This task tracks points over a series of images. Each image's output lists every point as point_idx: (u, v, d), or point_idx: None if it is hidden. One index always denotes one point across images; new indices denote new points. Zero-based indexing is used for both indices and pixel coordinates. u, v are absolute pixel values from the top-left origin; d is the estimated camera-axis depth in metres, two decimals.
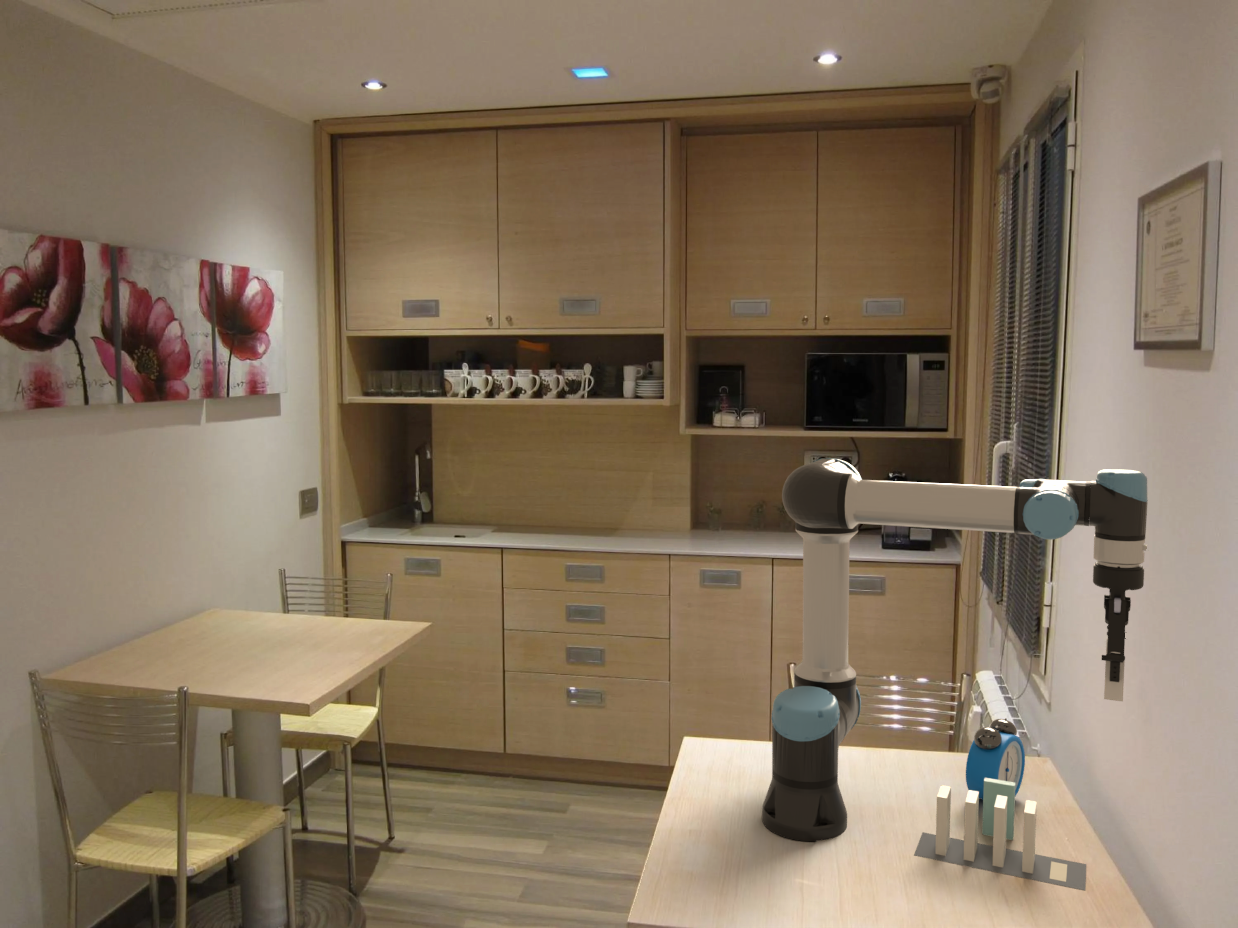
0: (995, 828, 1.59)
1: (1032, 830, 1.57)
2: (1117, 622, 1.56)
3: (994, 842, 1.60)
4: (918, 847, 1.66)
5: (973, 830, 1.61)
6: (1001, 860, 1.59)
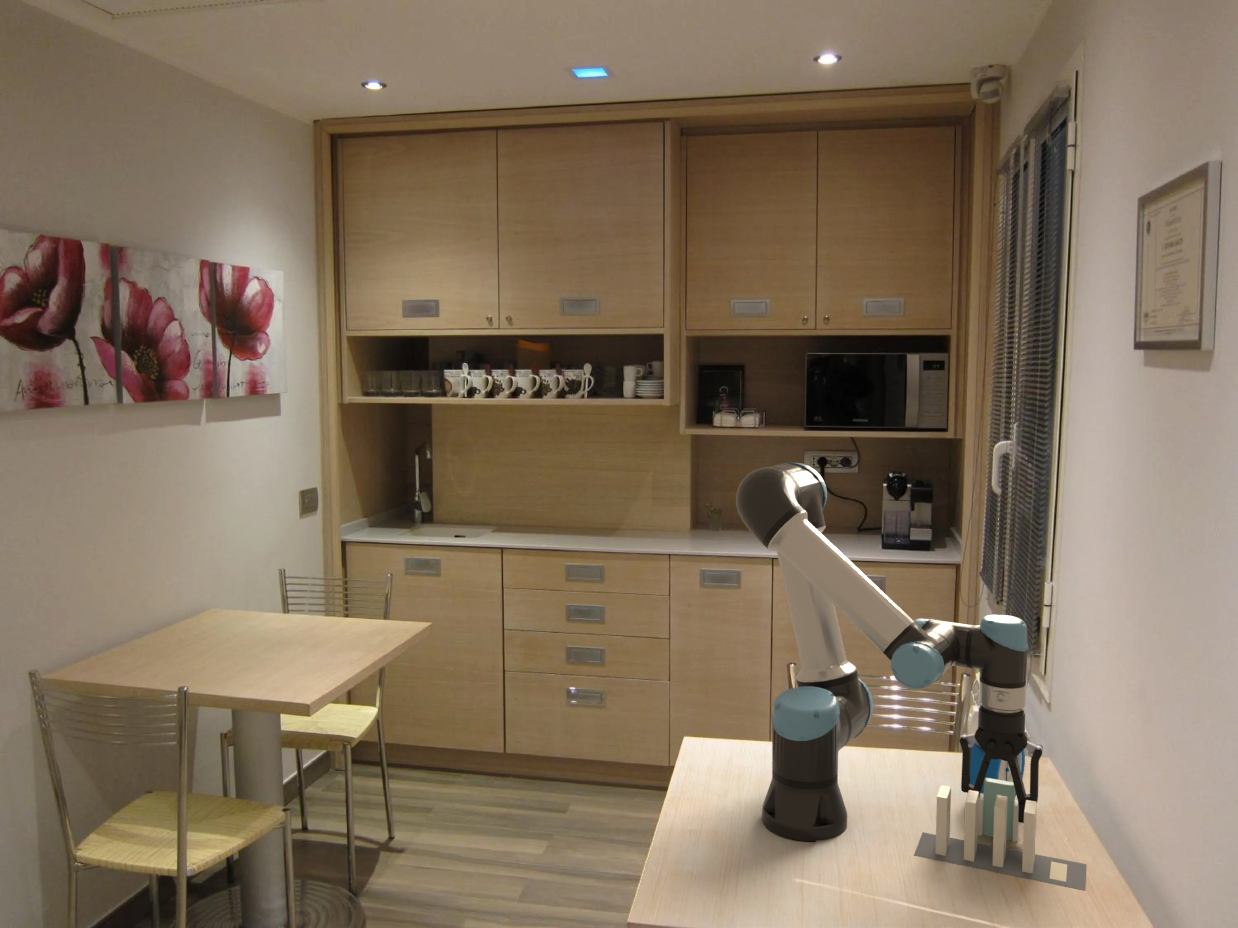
0: (995, 828, 1.59)
1: (1032, 830, 1.57)
2: None
3: (994, 842, 1.60)
4: (918, 847, 1.66)
5: (973, 830, 1.61)
6: (1001, 860, 1.59)
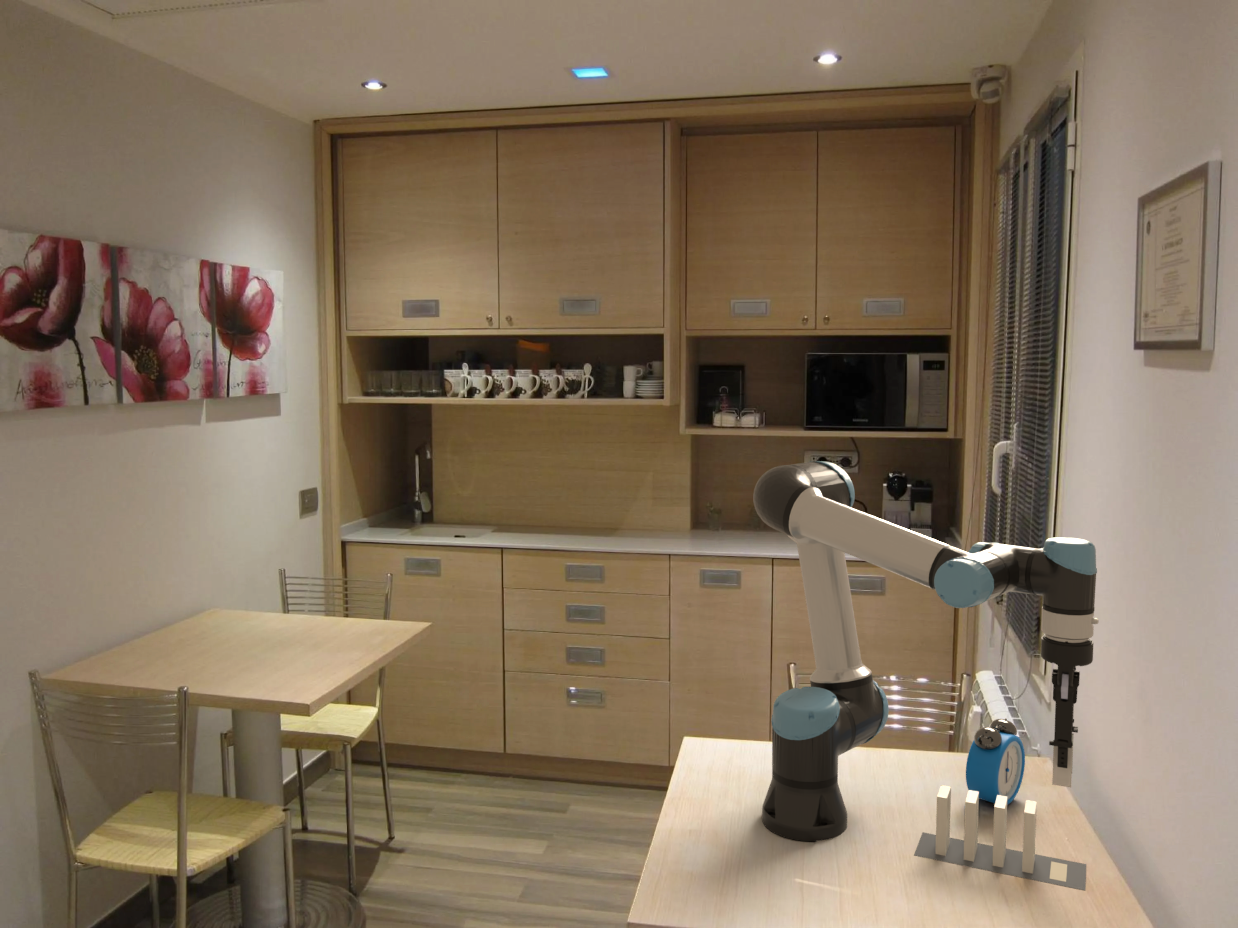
0: (995, 828, 1.59)
1: (1032, 830, 1.57)
2: (1064, 709, 1.50)
3: (994, 842, 1.60)
4: (918, 847, 1.66)
5: (973, 830, 1.61)
6: (1001, 860, 1.59)
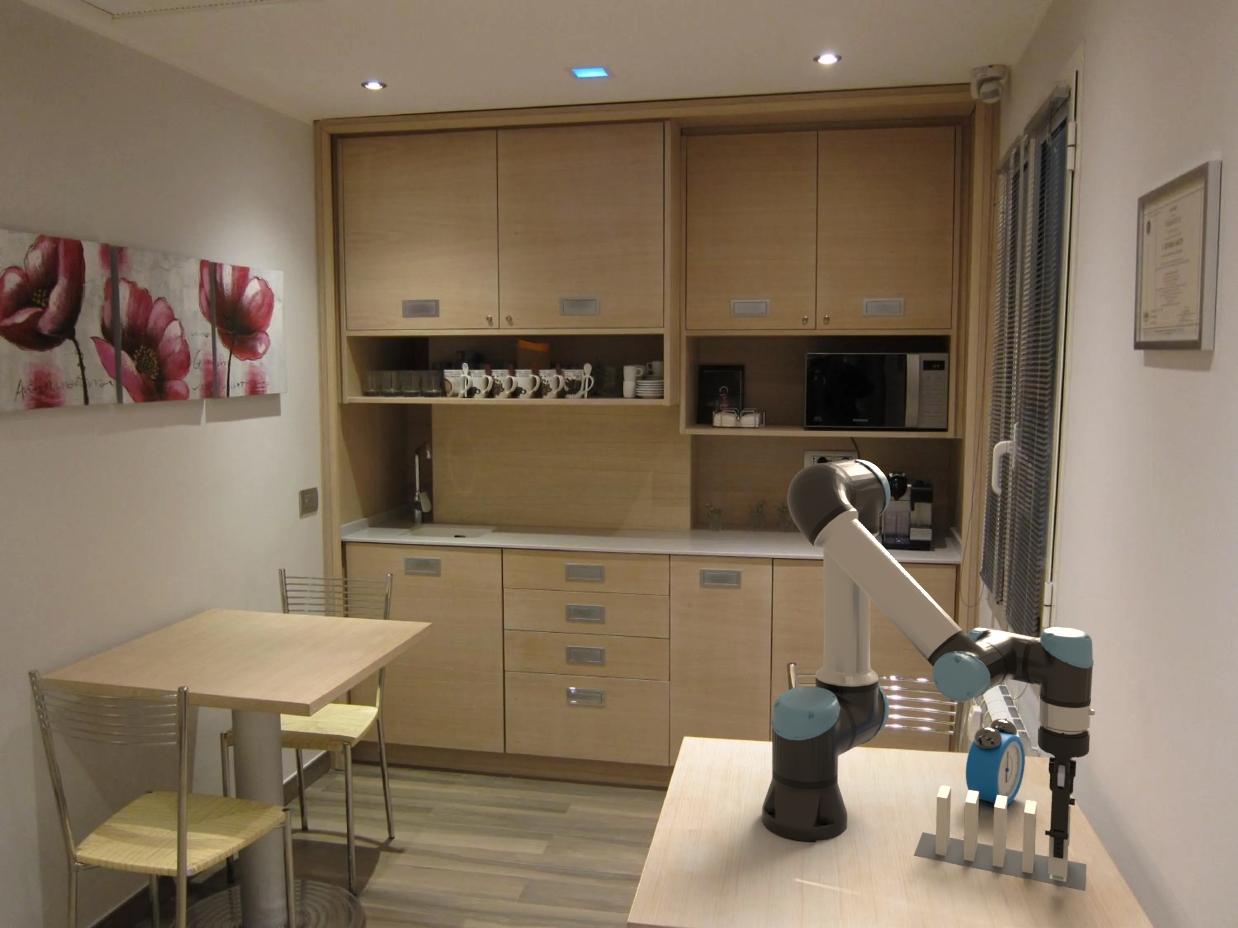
0: (995, 828, 1.59)
1: (1032, 830, 1.57)
2: (1060, 797, 1.50)
3: (994, 842, 1.60)
4: (918, 847, 1.66)
5: (973, 830, 1.61)
6: (1001, 860, 1.59)
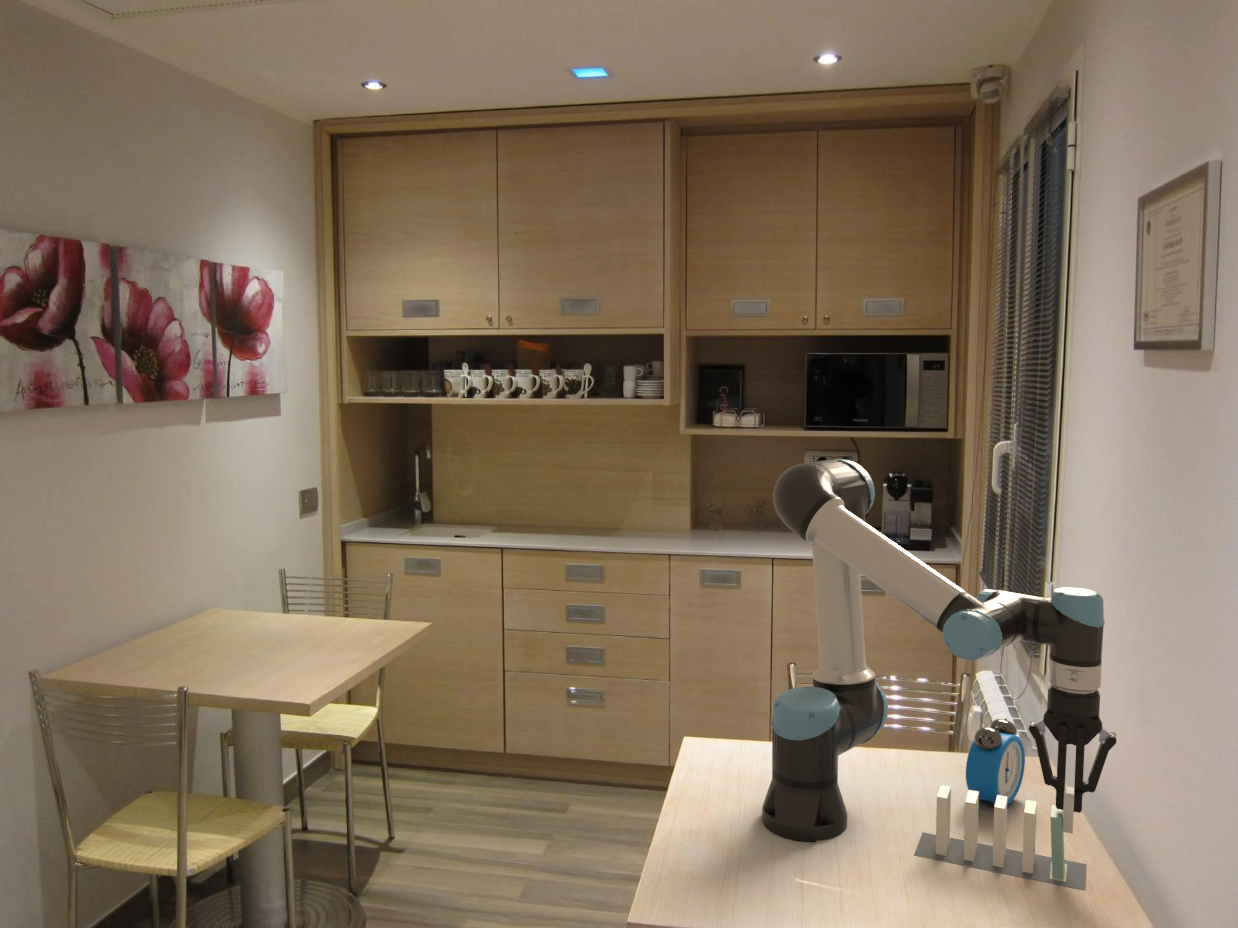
0: (995, 828, 1.59)
1: (1032, 830, 1.57)
2: None
3: (994, 842, 1.60)
4: (918, 847, 1.66)
5: (973, 830, 1.61)
6: (1001, 860, 1.59)
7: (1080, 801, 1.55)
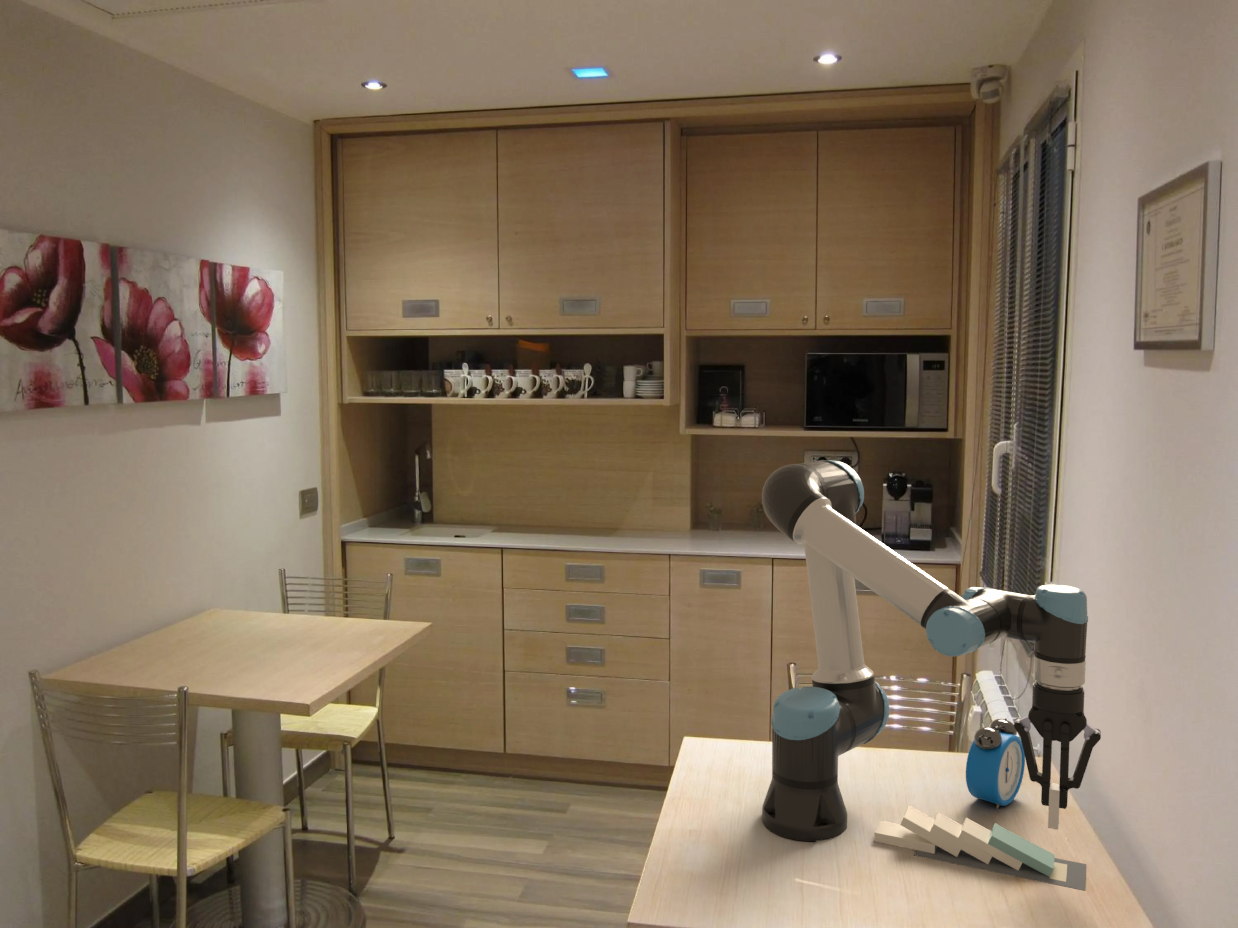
0: (951, 841, 1.63)
1: (978, 840, 1.61)
2: None
3: (965, 850, 1.62)
4: None
5: (929, 832, 1.64)
6: (984, 853, 1.60)
7: (1065, 797, 1.56)
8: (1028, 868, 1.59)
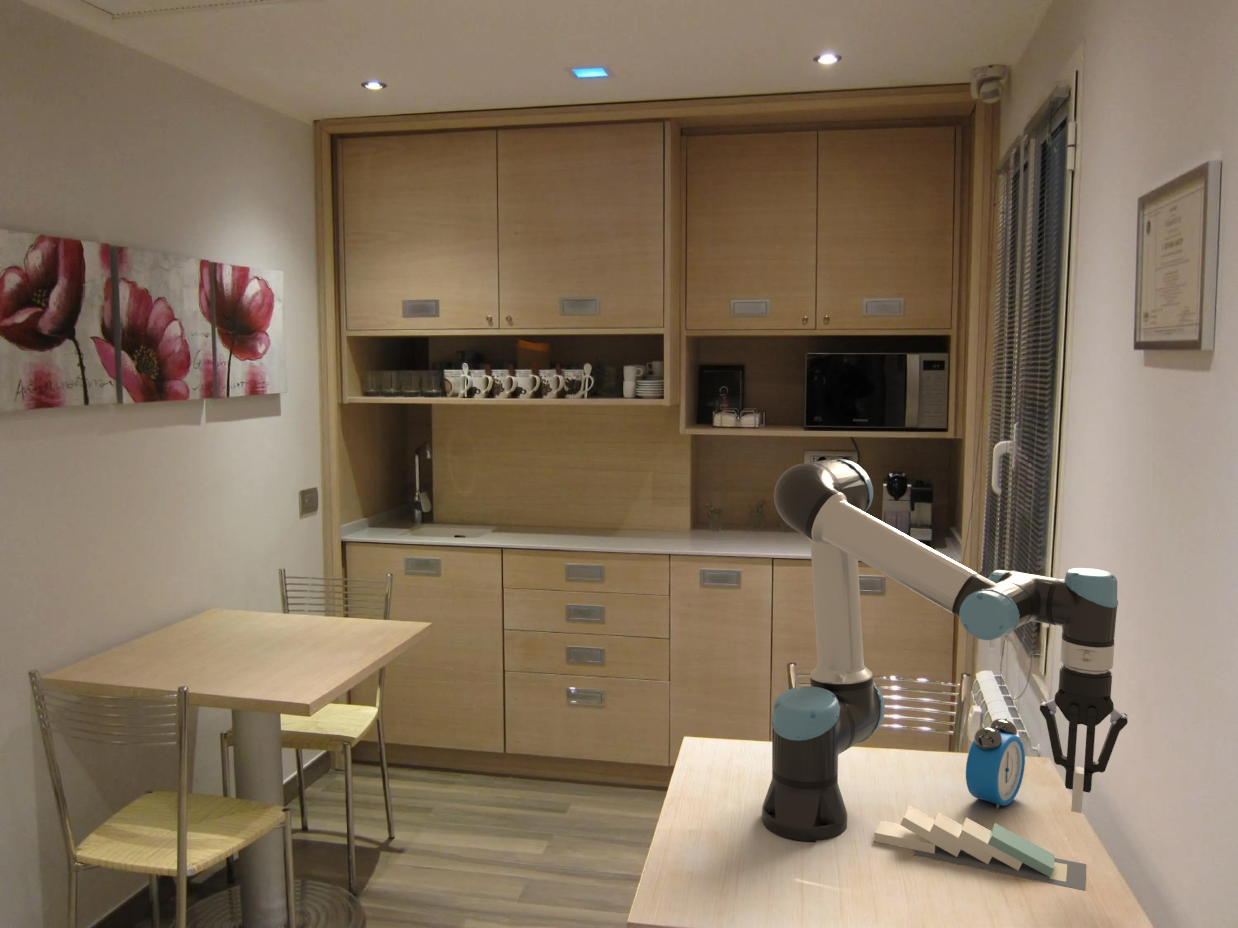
0: (951, 841, 1.63)
1: (978, 840, 1.61)
2: None
3: (965, 850, 1.62)
4: None
5: (929, 832, 1.64)
6: (984, 853, 1.60)
7: (1090, 781, 1.55)
8: (1028, 868, 1.59)
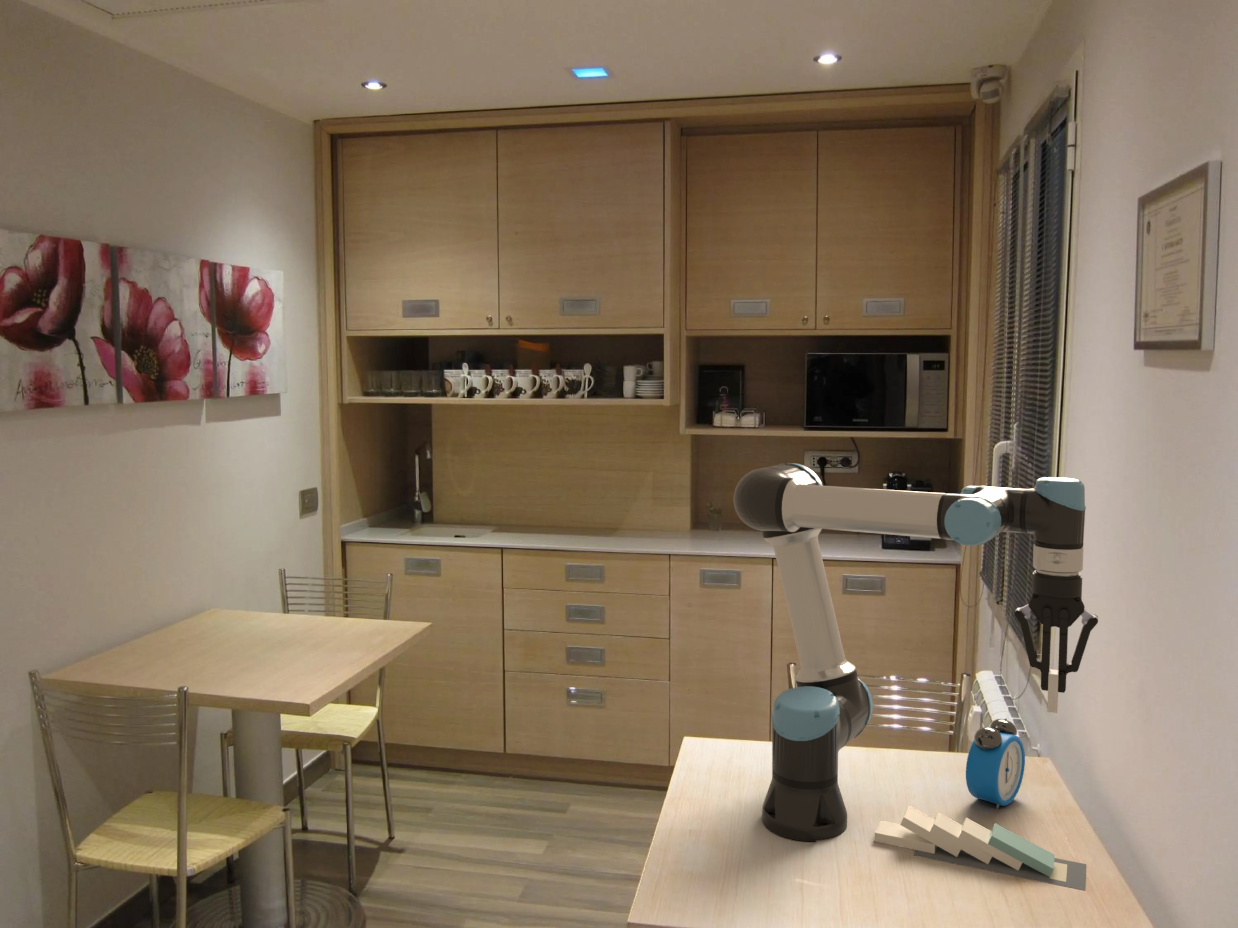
0: (951, 841, 1.63)
1: (978, 840, 1.61)
2: None
3: (965, 850, 1.62)
4: None
5: (929, 832, 1.64)
6: (984, 853, 1.60)
7: (1064, 681, 1.62)
8: (1028, 868, 1.59)
